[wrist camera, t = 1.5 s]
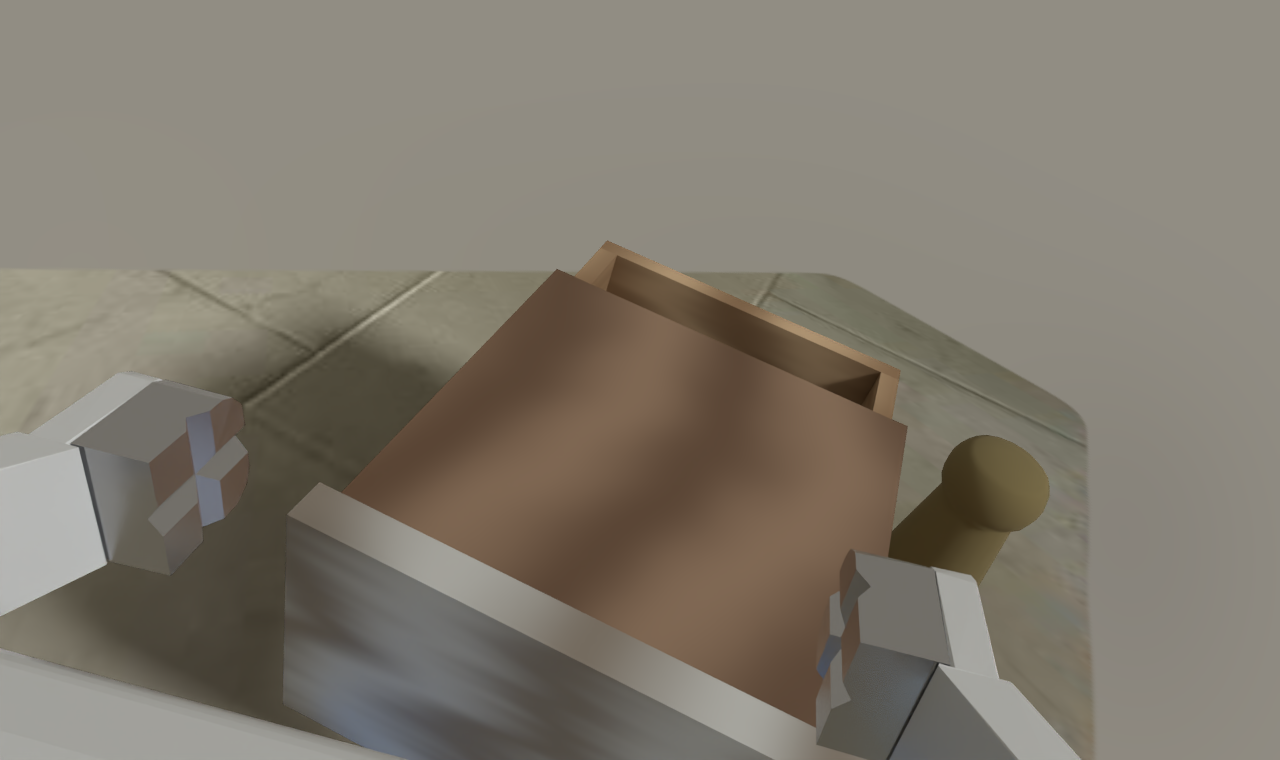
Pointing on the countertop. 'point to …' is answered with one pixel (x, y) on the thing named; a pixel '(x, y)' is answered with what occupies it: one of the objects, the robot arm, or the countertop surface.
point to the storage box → (744, 327)
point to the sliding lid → (589, 550)
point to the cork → (973, 508)
